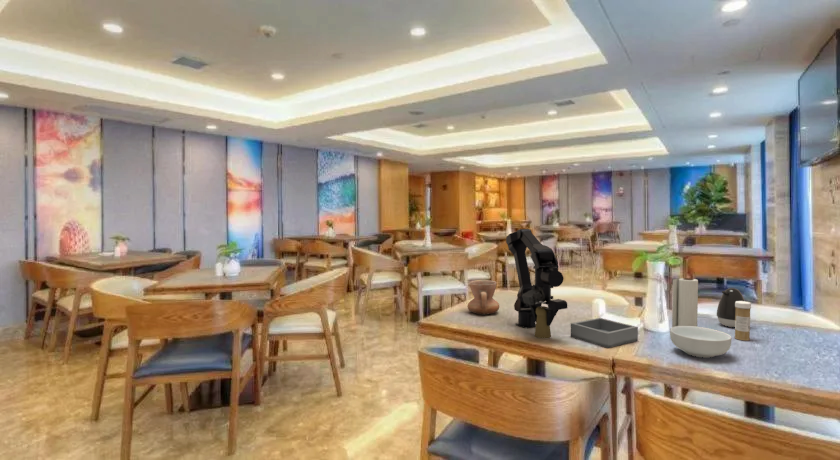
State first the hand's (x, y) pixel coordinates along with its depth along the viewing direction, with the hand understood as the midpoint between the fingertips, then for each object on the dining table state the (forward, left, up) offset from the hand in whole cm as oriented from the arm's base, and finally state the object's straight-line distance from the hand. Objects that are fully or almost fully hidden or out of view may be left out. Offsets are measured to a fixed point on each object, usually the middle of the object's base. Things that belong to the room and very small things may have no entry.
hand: (542, 324), depth 165 cm
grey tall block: (+28, +43, -5) cm, 52 cm away
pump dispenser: (+29, +73, -5) cm, 79 cm away
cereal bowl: (+41, +28, -5) cm, 50 cm away
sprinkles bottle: (+40, +57, -5) cm, 70 cm away
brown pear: (0, 0, -5) cm, 5 cm away
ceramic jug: (-41, +4, -5) cm, 41 cm away
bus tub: (+14, +16, -4) cm, 22 cm away
